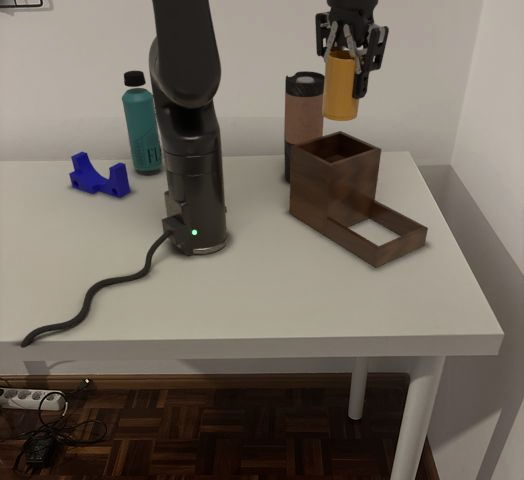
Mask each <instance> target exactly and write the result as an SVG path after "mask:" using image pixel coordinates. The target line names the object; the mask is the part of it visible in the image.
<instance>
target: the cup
mask: <svg viewBox="0 0 524 480" xmlns="http://www.w3.org/2000/svg"><path fill="white" fill-rule="evenodd" d="M361 62H362V64H364V62H363V57H362V56H361ZM325 65H326V69H324V76H325V80H324V92H323V104H322V115H323V116H324V118H325V119H326V120H330V121H331V120H332V121H334V122H335V121H336V122H337V121H338V122H348V121H353V120H355V119H357V117H358V114H359V104H360V99H354V98H352V91H353V81H354V74H355V73H356V72H355V67H354V65H355V60H354V59H352V58H351V57H350V54H349V49H344V50H336V51H334V52H331V51H330V52H328V53H327V57H326V63H325Z"/></svg>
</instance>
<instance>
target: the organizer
mask: <svg viewBox="0 0 524 480" xmlns="http://www.w3.org/2000/svg"><path fill="white" fill-rule="evenodd" d="M381 155H382V148H380V147H378V146H375V145H373V144H371V143H369V142H367V141H364V140H363V139H360V138H357V137H355V136H353V135H351V134H348V133H346V132H344V131H342V130H339V131H336V132H335V131H334V132H332V133H330V134H325V135H323V136H322V137H319V138H315V139H312V140H309V141H306V142H302V143H299V144H296V145H292V146H291V161H290V184H289V214H290V215H291V216H293V217H294V218H296V219H298V220H299V221H301V222H302V223H304V224H305V225H307V226H309V228H312V229H313V230H315V231H317V232H318V233H320V234H322V235H323V236H325V237H327V238H328V239H329V240H331V241H332V242H334V243H336V244H338V245H339V246H341V247H342V248H344V249H346V250H347V251H349V252H351V254H353V255H355V256H357V257H358V258H360V259H362V260H363V261H365V262H366V263H368V264H369V265H371V266H373V267H374V268H376V269H377V268H379V267H382V266H383V265H386V264H388V263H390V262H392V261H394V260H396V259H399V258H400V257H402V256H406V255H408V254H410V253H412V252H414V251H416V250H418V249H421V248H422V247H424V246H425V244H426V240H427V237H428V230H429V227H427V226H426V225H423V224H421V223H420V222H418V221H416V220H414V219H413V218H410V217H408V216H406V215H404V214H403V213H401V212H400V211H399V212H398V211H397V210H395V209H393V208H391V207H389V206H387V205H385V204H383V203H381V202H380V201H378V200H376V194H377V186H378V180H379V179H378V178H379V171H380V163H381ZM369 219H370V220H372V221H374V222H376V223H377V224H379V225H381V226H383V227H385V228H387V230H388V229H389V230H390V231H392V232H393V233H395V234H397V235H399V237H397V238H396V237H395V238H394V239H392V240H389V241H388V242H385V243H382V244H379V245H378V244H376V243H374V242H372V241H371V240H369V239H367V238H366V237H364V236H362V235H361V234H359V233H358V232H356V231H354V230H352V228H351V229H350V228H349V227H351V226H354V225H356V224H358V223H359V224H360V223H362V222H364V221H366V220H369Z"/></svg>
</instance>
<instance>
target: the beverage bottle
mask: <svg viewBox="0 0 524 480" xmlns="http://www.w3.org/2000/svg"><path fill="white" fill-rule="evenodd" d="M146 83H147V82H146V77H145V73H144V71H142V70H129V71H126V72H124V73H123V84H124V86H125V87H128V88H129V89H127V90H126V91H125V92H124V93H123V95H122V96H121V101H122V108H123V111H124V117H125V123H126V128H127V136H128V145H129V147H130V156H131V161H132V164H133V166H134V169H136V170H138V171H143V172H145V171H147V172H148V171H149V172H150V171H155V170H157V169H160V168H162V165H163V161H164V156H163V149H162V142H161V141H160V133H159V127H158V123H157V119H156V112H155V106H154V99H153V93H152V92H151V91H149V90H148V89H147V88H144V87H143V86H144V85H146Z"/></svg>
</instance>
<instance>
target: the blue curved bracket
mask: <svg viewBox="0 0 524 480" xmlns="http://www.w3.org/2000/svg"><path fill="white" fill-rule="evenodd" d="M70 158H71V162H72V165H73V171H71V172H69V173H68V175H69V178H70V179H69V180H70V182H71V186H72V188H73V189H76V190H80V191H81V192H82V191H83V192H86V193H89V194H91V195H94V194H97V193H98V192H100V193H103V194H106V195H109V196H111V197H112V196H113V197H115V198H118V199H121V198H123V197H125V196H127V195H128V194H130V193H131V186H130V181H129V176H128V170H127V164H126V163H124V162H121V161H119V162H117V163H116V164H114V165H112V166H110V167H108V170H109V171H108V172H109V176H108V178H106V177H104V176H103V175H101V174H100V173H99V172H98V171H97V170H96V168H95V167H94V165H93V164H92V162H91V160H90V158H89V155H88V152H85V151H80V152H78V153H76V154H73V155H71V156H70Z"/></svg>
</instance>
